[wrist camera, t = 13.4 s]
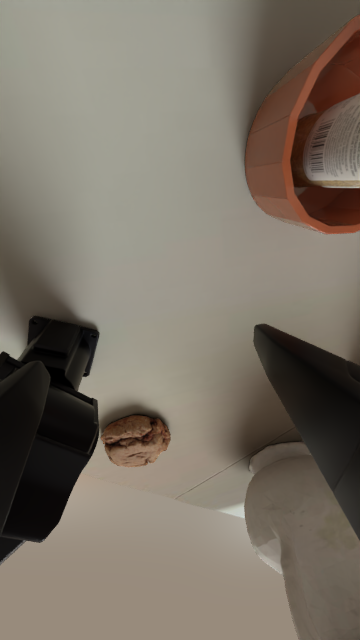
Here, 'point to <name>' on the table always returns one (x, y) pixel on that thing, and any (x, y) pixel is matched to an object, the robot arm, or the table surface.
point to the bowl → (279, 131)
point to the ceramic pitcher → (305, 541)
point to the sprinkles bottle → (328, 147)
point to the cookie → (135, 440)
